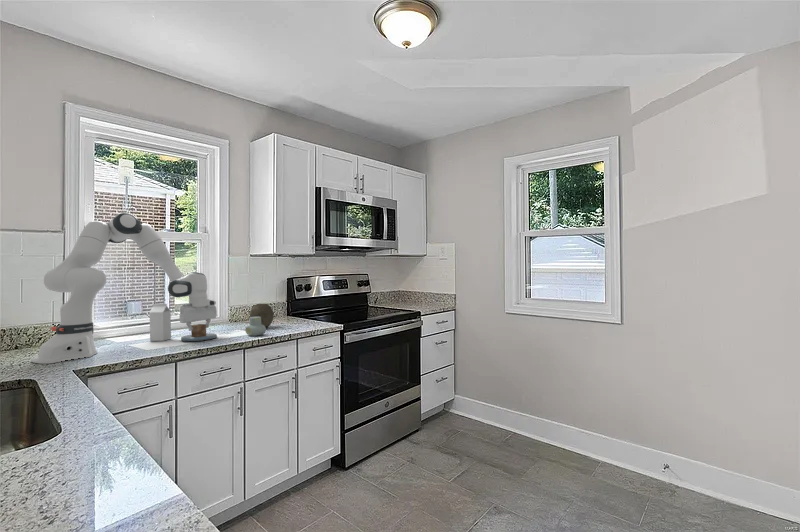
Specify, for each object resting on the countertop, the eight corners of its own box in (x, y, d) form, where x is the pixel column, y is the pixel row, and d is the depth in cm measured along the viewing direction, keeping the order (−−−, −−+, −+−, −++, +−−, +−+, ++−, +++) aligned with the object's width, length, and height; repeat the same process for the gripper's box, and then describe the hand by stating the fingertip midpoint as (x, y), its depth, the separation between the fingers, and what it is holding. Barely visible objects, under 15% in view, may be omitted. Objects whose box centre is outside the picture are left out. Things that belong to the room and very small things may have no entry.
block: (198, 337, 220) (197, 325, 220) (191, 336, 222) (191, 325, 222) (206, 335, 224) (206, 324, 224) (199, 335, 226) (199, 323, 226)
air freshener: (268, 335, 232) (267, 317, 232) (254, 337, 226) (253, 318, 225) (257, 333, 239) (257, 315, 239) (243, 335, 233) (243, 317, 233)
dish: (196, 343, 212) (196, 340, 212) (173, 341, 219) (173, 337, 219) (223, 337, 227) (223, 334, 227) (201, 335, 235) (201, 332, 235)
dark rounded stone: (279, 327, 260) (278, 302, 260) (262, 330, 247) (262, 305, 247) (261, 325, 266) (260, 302, 266) (244, 329, 253) (243, 304, 253)
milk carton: (163, 341, 219) (162, 304, 219) (150, 341, 220) (149, 304, 219) (171, 338, 227) (170, 303, 226) (158, 338, 227) (157, 303, 226)
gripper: (184, 305, 212) (185, 332, 212) (218, 301, 230) (218, 326, 231) (176, 304, 215) (176, 332, 215) (210, 301, 233) (210, 326, 233)
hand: (198, 329), depth 223 cm, fingers open, 8 cm apart
